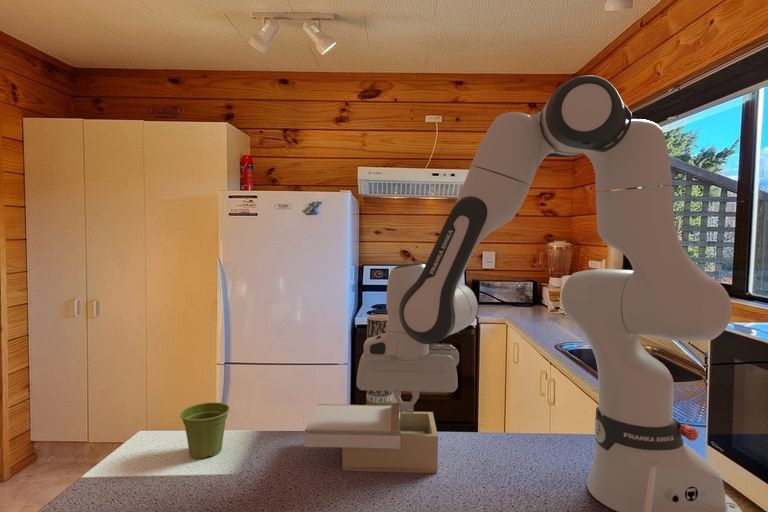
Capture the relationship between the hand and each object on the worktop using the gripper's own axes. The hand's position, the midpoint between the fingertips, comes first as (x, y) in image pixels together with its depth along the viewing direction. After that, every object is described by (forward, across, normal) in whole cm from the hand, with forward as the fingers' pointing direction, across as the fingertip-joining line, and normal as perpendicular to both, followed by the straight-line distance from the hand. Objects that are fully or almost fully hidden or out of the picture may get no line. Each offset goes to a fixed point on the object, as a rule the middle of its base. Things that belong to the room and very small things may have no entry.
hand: (406, 411), depth 88 cm
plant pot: (+10, +41, 0) cm, 42 cm away
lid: (+4, +10, 0) cm, 11 cm away
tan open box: (+9, +3, 0) cm, 10 cm away
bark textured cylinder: (+10, +6, -22) cm, 25 cm away
